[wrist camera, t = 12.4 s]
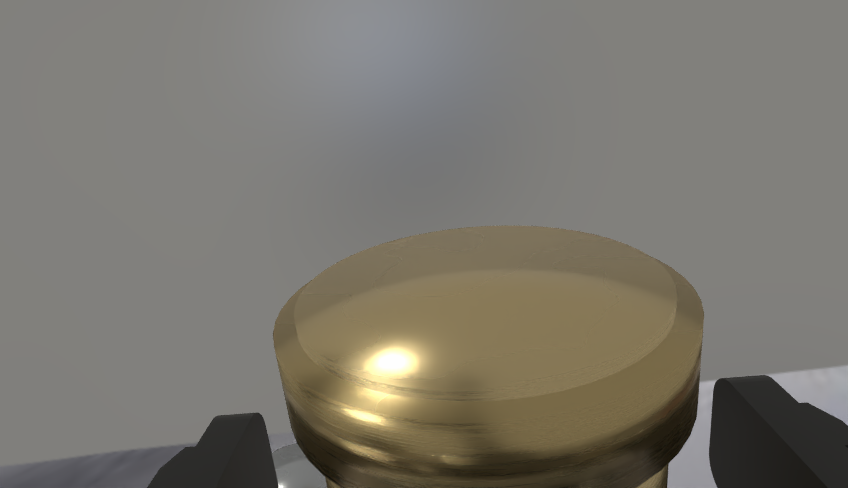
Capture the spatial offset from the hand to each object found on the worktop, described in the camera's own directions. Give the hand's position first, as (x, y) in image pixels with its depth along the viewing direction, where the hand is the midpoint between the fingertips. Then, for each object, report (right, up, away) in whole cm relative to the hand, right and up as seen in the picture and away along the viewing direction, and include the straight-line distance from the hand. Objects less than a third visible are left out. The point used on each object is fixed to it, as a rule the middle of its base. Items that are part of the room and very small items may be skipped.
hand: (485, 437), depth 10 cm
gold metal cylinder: (+1, -8, +2) cm, 9 cm away
